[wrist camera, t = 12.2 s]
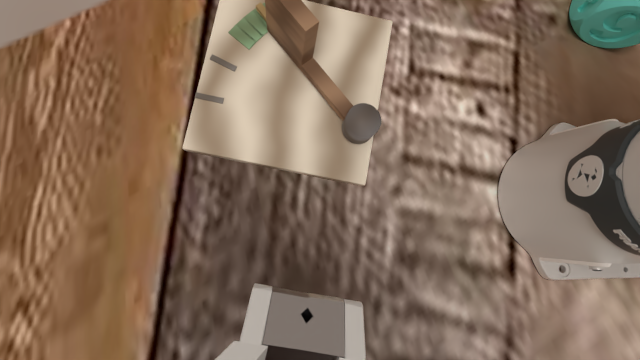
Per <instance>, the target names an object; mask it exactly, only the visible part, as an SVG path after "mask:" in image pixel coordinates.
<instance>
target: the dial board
mask: <svg viewBox="0 0 640 360" xmlns="http://www.w3.org/2000/svg"><path fill="white" fill-rule="evenodd" d="M260 2H261V3H262V4H263V6H264V7H265V0H220V1H219V5H218V9H217V13H216V17H215V21H214V25H213V29H212V33H211V37H210V41H209V45H208V49H207V53H206V57H205V61H204V65H203V69H202V73H201V77H200V81H199V85H198V89H197V92H196V94H195V101H194V105H193V109H192V113H191V117H190V121H189V125H188V129H187V132H186V136H185V140H184V144H183V149H184V150H185V151H189V152H194V153H199V154H204V155H209V156H214V157H219V158H224V159H229V160H234V161H239V162H244V163H249V164H254V165H259V166H264V167H269V168H274V169H279V170H283V171H288V172H293V173H298V174H303V175H308V176H313V177H318V178H323V179H328V180H333V181H338V182H343V183H348V184H353V185H358V186H365V184H366V178H367V172H368V166H369V160H370V154H371V148H372V142H373V136H374V135H373V136H372V137H371V138H370V139H369V140H368V141H367V142H365V143H363V144H354V143H352V142H350V141H348V140H347V139H346V138H345V136H344V135H343V132H342V123H343V121H342V119H341V118H340V117H339V116H338V115H337V113H336V112H335V111H334V110H333V109H332V107H331V106H330V105H329V104H328V103H327V101H326V100H325V99H324V98H323V97H322V95H321V94H320V93H319V92H318V91H317V89H316V88H315V87H314V86H313V84H312V83H311V82H310V81H309V80H308V78H307V77H306V76H305V75H304V74H303V72H302V71H301V70H300V69H299V68H298V66H297V65H296V64H295V63H294V62H293V60H292V59H291V58H290V57H289V56H288V54H287V53H286V52H285V51H284V50H283V48H282V47H281V46H280V45H279V44H278V42H277V41H276V40H275V39H274V38H273V36H272V35H271V34H270V33H269V32H268V30H267V23H266V21H265V20H264V18H263V17H262V16H261V15H260V14H259V12H258V11H257V10H256V5H257V4H259V3H260ZM302 2H303V3H304V4H305V5H306V6H307V7H308V9H309V10H310V11H311V12H312V13H313V15H314V16H315V17H316V18H317V19H318V21H319V26H318V32H317V37H316V43H315V48H314V54H313V58H314V59H315V60H316V62H317V63H318V64H319V65H320V66H321V68H322V69H323V70H324V71H325V72H326V74H327V75H328V76H329V77H330V78H331V80H332V81H333V82H334V83H335V84H336V86H337V87H338V88H339V89H340V90H341V92H342V93H343V94H344V95H345V96H346V98H347V99H348V100H349V101H350V102H351V104H352V105H353V106H354V105H356V104H360V103H367V104H370V105H372V106H373V107H375V108H376V109H377V110H378V106H379V100H380V94H381V88H382V82H383V76H384V70H385V64H386V58H387V52H388V46H389V40H390V34H391V28H392V22H393V21H389V20H385V19H381V18H377V17H373V16H368V15H364V14H360V13H356V12H352V11H347V10H343V9H339V8H335V7H331V6H326V5H322V4H318V3H314V2H310V1H305V0H302Z"/></svg>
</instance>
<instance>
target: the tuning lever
mask: <svg viewBox="0 0 640 360" xmlns="http://www.w3.org/2000/svg"><path fill="white" fill-rule="evenodd" d="M256 10H257V11H258V12H259V14H260V15H261V16H262V17H263V18H264V20H265V21H266V23H267V30H268V32H269V33H270V34H271V35H272V36H273V38H274V39H275V40H276V41H277V42H278V44H279V45H280V46H281V47H282V48H283V50H284V51H285V52H286V53H287V54H288V56H289V57H290V58H291V59H292V60H293V62H294V63H295V64H296V65H297V66H298V68H299V69H300V70H301V71H302V72H303V74H304V75H305V76H306V77H307V78H308V80H309V81H310V82H311V83H312V84H313V86H314V87H315V88H316V89H317V91H318V92H319V93H320V94H321V95H322V97H323V98H324V99H325V100H326V101H327V103H328V104H329V105H330V106H331V107H332V109H333V110H334V111H335V112H336V113H337V115H338V116H339V117H340V118H341V119H342V121H343V123H342V132H343V135H344V136H345V138H346V139H347V140H348V141H350V142H352V143H354V144H363V143H365V142H367V141H368V140H369V139H370V138H371V137H372V136H373V135H374V134H375V133H376V132H377V131H378V130H379V128H380V125H381V117H380V114H379V112H378V110H377V109H376V108H375V107H373V106H372V105H370V104H367V103H360V104H356V105H354V106H353V105H352V104H351V102H350V101H349V100H348V99H347V98H346V96H345V95H344V94H343V93H342V92H341V90H340V89H339V88H338V87H337V86H336V84H335V83H334V82H333V81H332V80H331V78H330V77H329V76H328V75H327V74H326V72H325V71H324V70H323V69H322V68H321V66H320V65H319V64H318V63H317V62H316V60H315V59H314V58H313V54H314V48H315V43H316V37H317V32H318V26H319V21H318V19H317V18H316V17H315V16H314V15H313V13H312V12H311V11H310V10H309V9H308V7H307V6H306V5H305V4H304V3H303V2H302V0H265V7H264V6H263V4H262V3H261V2H260V3H259V4H257V5H256Z"/></svg>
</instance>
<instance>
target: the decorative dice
mask: <svg viewBox="0 0 640 360" xmlns="http://www.w3.org/2000/svg"><path fill="white" fill-rule="evenodd" d="M569 16H570V22H571V25H572V27H573V29H574V31H575V32H576V34H577V35H578V36H579V37H580V38H581V39H582V40H584V41H585V42H587V43H588V44H591V45H593V46H597V47H602V48H623V47H628V46H633V45H636V44H639V43H640V0H572V3H571V5H570V10H569Z"/></svg>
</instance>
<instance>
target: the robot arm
mask: <svg viewBox="0 0 640 360" xmlns="http://www.w3.org/2000/svg"><path fill="white" fill-rule="evenodd" d="M498 202H499V208H500V212H501V215H502V218H503V221H504V223H505V225H506V227H507V229H508V230H509V232H510V233H511V235H512V236H513V237H514V239H515V240H516V241H517V242H518V243H519V244H520V245H521V246H522V247H523V248H524V249H525V250H526V251H527V252H528V253H529V255H530V256H531V258H532V260H533V262H534V265H535V267H536V269H537V271H538V272H539V274H540V275H541V276H542V277H543V278H545V279H547V280H575V279H612V278H640V119H639V120H636V121H632V122H629V123H627V124H625V123H622V122H619V121H618V120H617V119H608V120H604V121H600V122H596V123H592V124H588V125H584V126H580V127H575V126H573V125H571V124H568V123H565V122H563V123H558V124H555V125H553V126H552V127H550V128H549V129H548V130H547V132H546V133H545V134H544V135H543V136H542V138H540V139H539V140H537V141H535V142H532V143H530V144H528V145H526V146H524V147H522V148H521V149H519V150H518V151H517V152H516V153H514V154H513V156H512V157H511V158H510V159H509V160H508V162H507V163H506V165H505V167H504V169H503V171H502V174H501V177H500V181H499V187H498ZM559 267H561V271H559ZM272 288H273V290H272ZM215 360H366V349H365V331H364V313H363V305H362V302H360V301H354V300H347V299H343V298H339V297H333V296H326V295H320V294H314V293H304V292H299V291H294V290H289V289H283V288H278V287H273V286H268V285H262V284H257V283H254V286H253V288H252V292H251V296H250V300H249V304H248V309H247V313H246V317H245V321H244V325H243V329H242V333H241V337H240V341H233V342H232V343H231V344H230V345H229V346H228V347H227V348H226V349H225V350H224V351H223V352H222V353H221V354H220V355H219V356H218V357H217V358H216V359H215Z"/></svg>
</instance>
